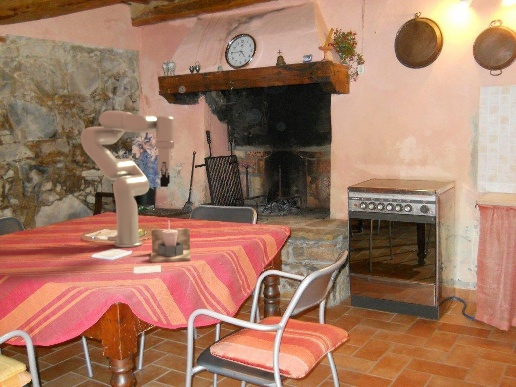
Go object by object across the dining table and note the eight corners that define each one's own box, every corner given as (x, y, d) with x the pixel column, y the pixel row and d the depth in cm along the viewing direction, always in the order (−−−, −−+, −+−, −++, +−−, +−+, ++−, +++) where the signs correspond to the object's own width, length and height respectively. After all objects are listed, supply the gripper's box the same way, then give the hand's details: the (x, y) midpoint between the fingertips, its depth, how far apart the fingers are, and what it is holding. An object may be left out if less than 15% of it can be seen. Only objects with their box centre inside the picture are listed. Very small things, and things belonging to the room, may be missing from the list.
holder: (150, 262, 208) (149, 237, 206) (152, 252, 223) (151, 229, 222) (190, 260, 210) (189, 235, 208) (190, 251, 226) (189, 228, 224)
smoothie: (171, 251, 221) (170, 218, 219) (181, 253, 217) (180, 220, 215) (159, 254, 216) (158, 221, 214) (170, 256, 212) (168, 222, 210)
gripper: (157, 143, 229) (158, 182, 231) (154, 146, 212) (154, 187, 214) (175, 144, 230) (175, 182, 232) (172, 146, 213) (172, 188, 215)
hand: (165, 185), depth 223 cm, fingers open, 9 cm apart
